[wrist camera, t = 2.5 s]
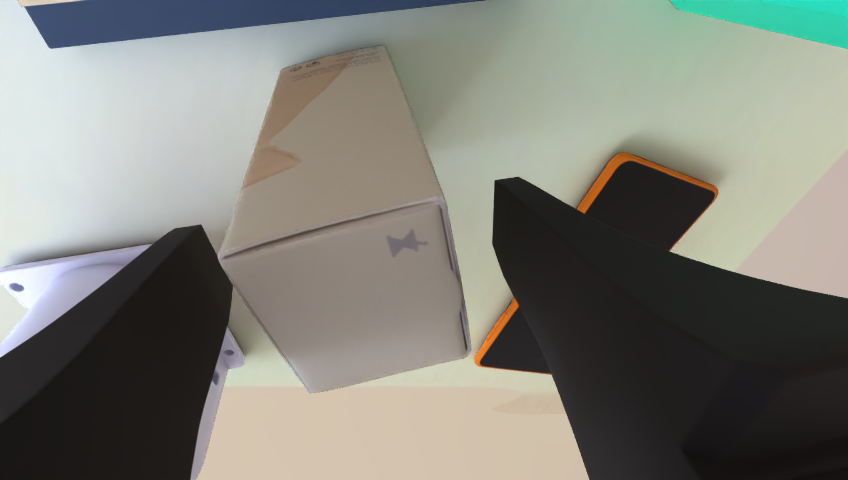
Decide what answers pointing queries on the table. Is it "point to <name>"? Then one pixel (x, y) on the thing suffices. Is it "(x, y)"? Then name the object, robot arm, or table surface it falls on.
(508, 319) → the smartphone
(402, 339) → the box
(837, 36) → the candle
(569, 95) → the table surface
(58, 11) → the towel
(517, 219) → the robot arm
